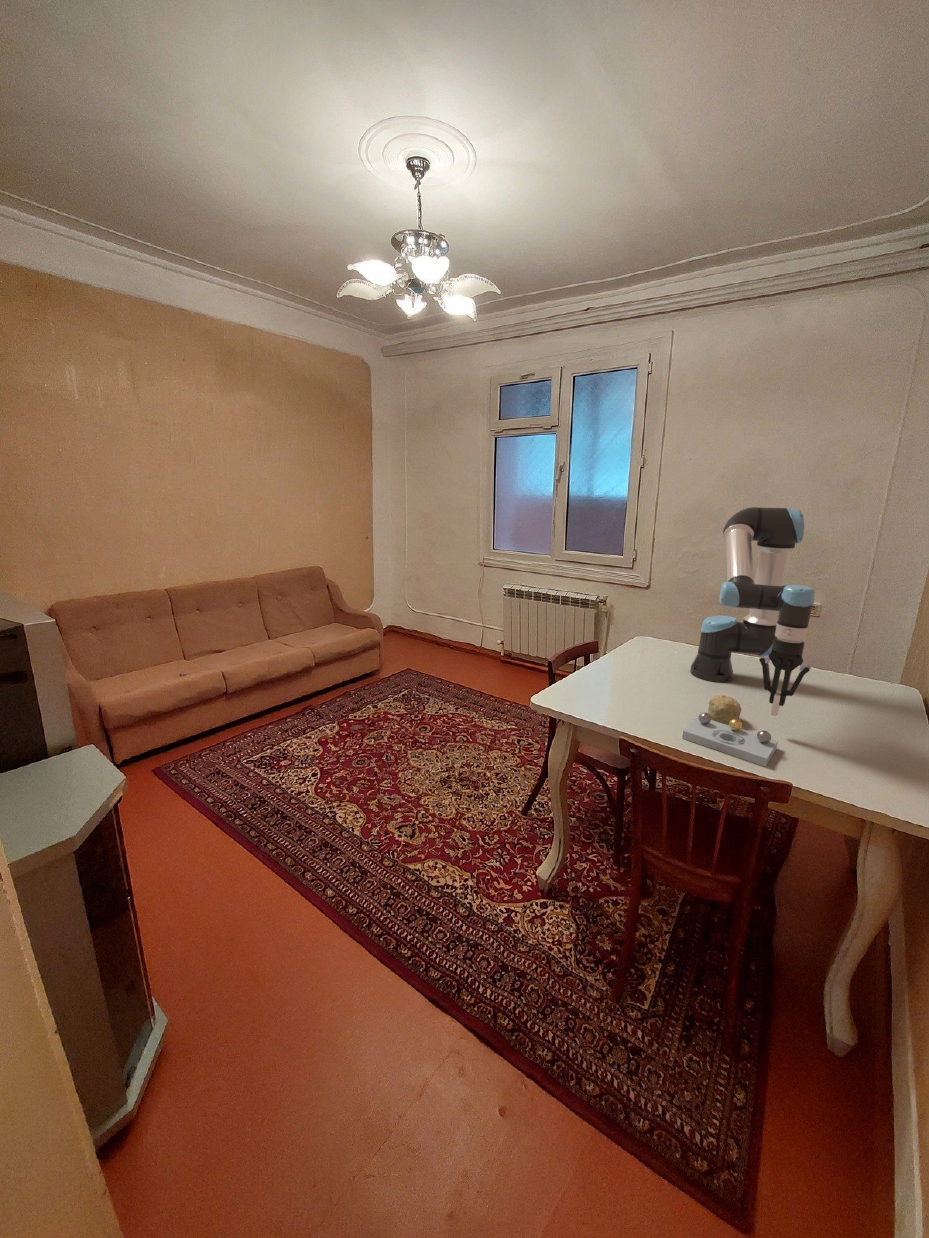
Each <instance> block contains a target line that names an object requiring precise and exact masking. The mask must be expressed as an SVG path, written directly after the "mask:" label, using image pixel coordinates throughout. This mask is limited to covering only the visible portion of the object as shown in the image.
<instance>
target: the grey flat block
mask: <svg viewBox="0 0 929 1238" xmlns="http://www.w3.org/2000/svg"><path fill="white" fill-rule="evenodd" d="M757 734H758V733H754V732H751V731H747V730H745V729H742V728H741V729H740V730H738V731H734V730H732V729H730V727H729V725H728V724H722V723H719V722H716V721H713V720H711V722H710V723H709V724H702V723H701V722H700V721H699V715H698V716H697V717H696V718H695V719H693V721H691V723H689V724H688V726H687V727H686V728H684V729H683V730H682V739H683V740H685V741H689V742H692V743H695V744H697V745H701V746H704V747H707V748H709V749H712V750H715V751H719V752H721V753H723V754H727V755H730V756H733V757H736V758H738V759H742V760H744V761H747V762H750V763H754V764H756V765H759V766H762V767H764V768H766V767H767V765H768V764H769V762H770V760H771V759H772V757H773V755H774V753H775V752H776V750H777V747H778V743H779V740H777V739H774V738H771V740H770V741H769V742H768V743H762V742H760V741H759V740H758V739H757Z"/></svg>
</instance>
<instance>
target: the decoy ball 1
mask: <svg viewBox="0 0 929 1238" xmlns="http://www.w3.org/2000/svg"><path fill="white" fill-rule="evenodd" d="M698 716H699V721H700V722H701V723H702V724H709V723H710V722H711V716H710V715H709V714H708V712H700V714H698Z"/></svg>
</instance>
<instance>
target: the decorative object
mask: <svg viewBox="0 0 929 1238" xmlns="http://www.w3.org/2000/svg"><path fill="white" fill-rule="evenodd" d="M741 712H742V706H741V704H740V703H739V702H738V701H737V699H736V698H734V697H731V696H729V695H724V694H723V695H721V694H717V695H714V696H712V697H711V698H710V700H709V702H708V710H707V713H708V714H709V715H710V716H711V720H713V721H716V722H719V723H722V724H726V725H729V722H730V720H732V719H738V720H740V717H741V716H740V715H741Z"/></svg>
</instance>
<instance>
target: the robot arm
mask: <svg viewBox="0 0 929 1238" xmlns="http://www.w3.org/2000/svg"><path fill="white" fill-rule="evenodd" d="M804 533H805V518H804V514H803V512H802V511H801V510H800V509H797V508H790V507H756V506H750V507H746V508H743V509H742V510H739V511H737V512H735V513H734V514H733V515H732V516H731V517H730V518H729V519H728V520H727V521H726V523H725V525H724V527H723V530H722V539H723V542H724V544H726V545H725V546H726V547H725V548H726V549H725V550H726V553H725V554H726V581H724V582H722V584H721V586H720V590H719V604H721V605H722V606H724V607H732V608H739V609H740V608H741V609H749V612H748V613H749V614H747V615H745V616H744V617H743V620H742V621H743V622H739V621H738V619H737V618H736V617H735V616H729V615H713V616H708V617H706V618H705V619H703V621H702V625H701V628H700V636H699V643H698V648H697V654H696V656H695V658H694V660H693V661H692V662H691V665H690V669H689V672H690V674H691V675H693V676H694V677H696V678H698V679H701V680H704V681H709V682H714V683H715V682H718V683H725V682H729V681H732V679H733V677H734V670H733V665H732V659H731V658H732V653H737V654H746V655H755V656H758V657H760V658H759V662H760V665H761V666H762V668H761V669H762V677H763V679H762V680H763V688H764V690H765V691H768V692H769V694H770V695H769V700H768V702H769V704H772V706H771V712H770V716H773V717H778V715H779V712H780V707H783V706H784V705H785V703H786V698H787V697H793V695H794V694H795V693H796V691H797V690H798V687H799V686H800V684H801V682H802V680H803V678H804V676H805V675H806V674H807V673H809V672H810V670H811V669H812V667H811V666H810V665H807V664H806V663H805V662H804V658H803V654H804V653H803V652H804V647H805V642H804V641H806V638H807V633H808V629H809V623H810V619H811V614H812V609H813V604H814V603H815V589H814V588H813V587H811V586H806V585H799V584H783V583H784V577H785V571H786V567H787V563H788V558H789V553H790V552H792V551H793V550H795V548H796V544H800V543H802V541H803V539H804V536H805V535H804ZM753 541H756V542H757V543H756V547H757V548H758V549H759V550H760V552H759V558H758V563H757V570H756V575H754V564H753V563H754V561H753V550H752V547H753V546H752V542H753ZM754 576H755V577H754ZM777 614H778V617H777ZM770 662H771V664H772V666H773V667H774V673H773V678H772V683H771V673H770V665H769V663H770ZM799 666H800V667H799ZM798 667H799V671H800V672H799V673H798V675H797V677H796V678H795V680H794V682H793V683H792V686H791V687H790V689H789V685H790V680H791V676H792V671H794V670H795V669H797V668H798ZM782 671H784V675H783V680H782V684H781V685H782V686H781V690H780V692H777V691H778V688H779V682H780V678H781V675H782V674H781V672H782Z"/></svg>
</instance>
